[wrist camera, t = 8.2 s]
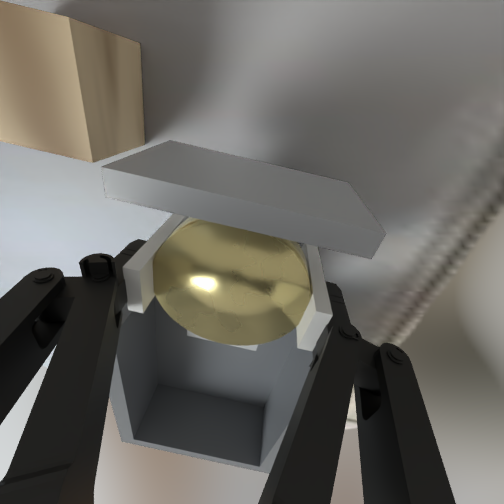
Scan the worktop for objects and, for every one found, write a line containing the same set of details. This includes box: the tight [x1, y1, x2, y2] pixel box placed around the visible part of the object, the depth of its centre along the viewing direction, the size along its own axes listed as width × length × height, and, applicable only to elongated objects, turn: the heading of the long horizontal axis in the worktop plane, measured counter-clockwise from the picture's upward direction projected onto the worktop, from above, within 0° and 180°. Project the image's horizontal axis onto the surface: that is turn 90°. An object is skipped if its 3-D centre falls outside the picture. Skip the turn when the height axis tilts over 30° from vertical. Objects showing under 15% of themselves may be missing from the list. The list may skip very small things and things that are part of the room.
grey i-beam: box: [101, 140, 387, 351], centre depth 13 cm, size 9×14×5 cm, turn 169°
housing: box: [109, 295, 317, 474], centre depth 21 cm, size 14×16×8 cm
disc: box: [153, 217, 311, 346], centre depth 13 cm, size 8×8×2 cm
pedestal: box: [0, 1, 145, 163], centre depth 12 cm, size 5×5×5 cm
